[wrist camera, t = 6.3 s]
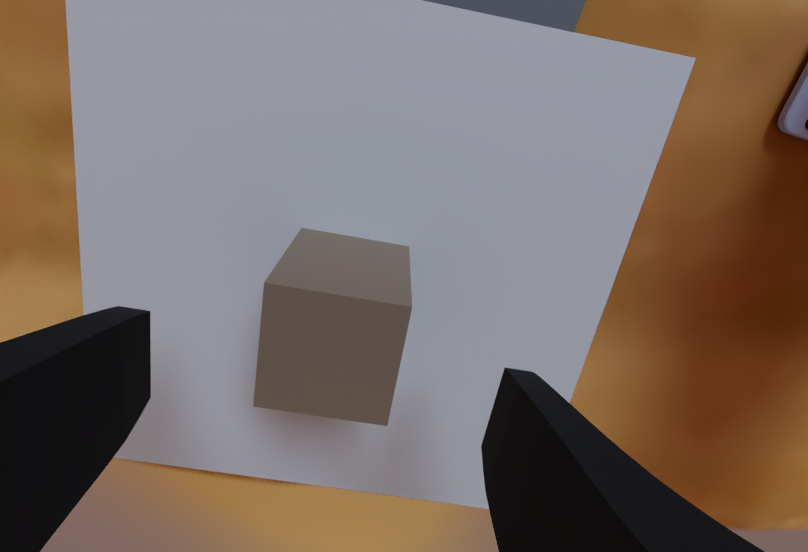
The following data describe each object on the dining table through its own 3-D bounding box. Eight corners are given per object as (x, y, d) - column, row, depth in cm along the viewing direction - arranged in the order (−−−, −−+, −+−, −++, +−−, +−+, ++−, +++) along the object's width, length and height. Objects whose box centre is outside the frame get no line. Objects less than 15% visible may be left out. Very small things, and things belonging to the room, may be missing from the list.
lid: (682, 59, 13) (828, 46, 8) (524, 500, 18) (563, 632, 14) (78, -68, 11) (-115, -160, 7) (101, 442, 17) (-1, 564, 13)
